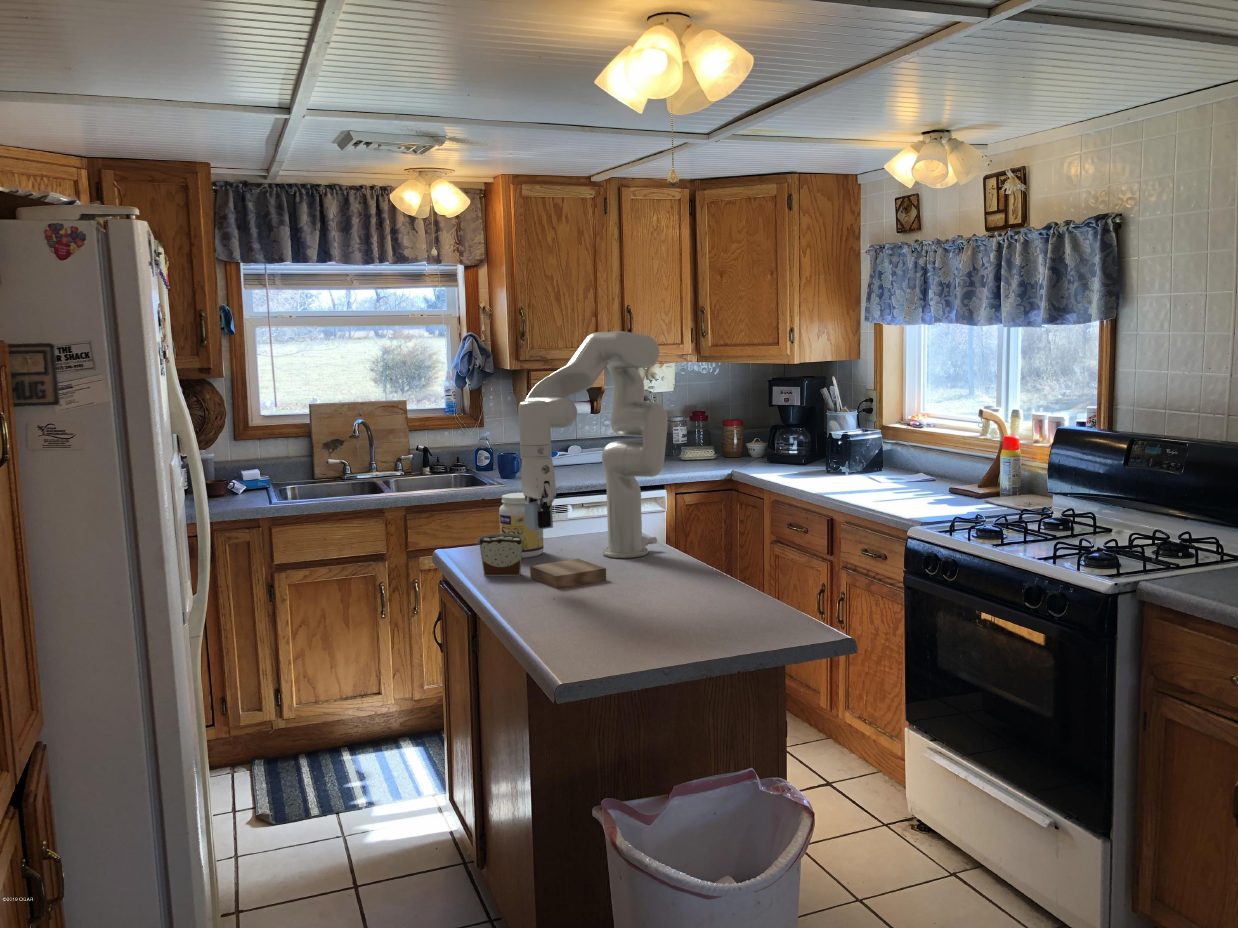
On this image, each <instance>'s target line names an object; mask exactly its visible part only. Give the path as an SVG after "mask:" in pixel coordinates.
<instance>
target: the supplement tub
mask: <svg viewBox="0 0 1238 928" xmlns="http://www.w3.org/2000/svg"><path fill="white" fill-rule="evenodd" d="M501 503H502V505H500V507H499V509H498V510H499V511H498V515H499V517H498V518H499V519H498V520H499V533H512V534H519V535H522V537H523V538H524V543H525V545H524V543H522V558H521V559H526V558H527V559H528V558H533V557H538V556H540V555H541V554H543V552H544V550H545V549H544V548H545V547H544V529H540V530H532V529H529V528H526V526H525V506H524V503H526V500H525V496H524V494H523V492H512V493H505V494H503V495H501Z"/></svg>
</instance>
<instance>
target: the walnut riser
mask: <svg viewBox="0 0 1238 928" xmlns="http://www.w3.org/2000/svg"><path fill="white" fill-rule="evenodd" d="M529 567H530V569H529V571H530V572H529V574H530V579H533V580H535V581H537V582H539V583H542V584H545V585H547V586H549V587H553V588H554V589H562V588H567V587H572V586H573V587H574V586H579V585H584V584H591V583H596V582H597V583H598V582H602V581H607V568H606V567H605V566H601V565H598V564H595V563H592V562H590V561H587V560H583V559H580V558H574V559H567V560H561V561H556V562H549V563H542V564H536V565H535V564H534V565H530V566H529Z"/></svg>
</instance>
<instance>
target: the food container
mask: <svg viewBox="0 0 1238 928" xmlns="http://www.w3.org/2000/svg"><path fill="white" fill-rule="evenodd" d="M522 543H524V538H523V537H522V535H519V534H512V533H500V532H499V533H491V534H486V535H485V534H484V535H481V536H480V537H478V539H477V545H476V546H479V550H480V556H481V562H482V563H481V565H482V570H483V577H495V576H496V577H499V576H500V577H521V574H522V573H521V572H522V559H523V558H522ZM524 545H525V543H524Z"/></svg>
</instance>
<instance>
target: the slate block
mask: <svg viewBox="0 0 1238 928" xmlns="http://www.w3.org/2000/svg"><path fill="white" fill-rule="evenodd" d="M543 502H544V501H542V505H543ZM524 506H525V526H526V528H529V529H532V530H540V529H543V530H546V529H552V528H554V521H553V519H554V518H553V504H552V505H551V511H550V514H551V526H550V527H544V528H539V527H538V511H539V507H538V501H537V502H529V503H524Z"/></svg>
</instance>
